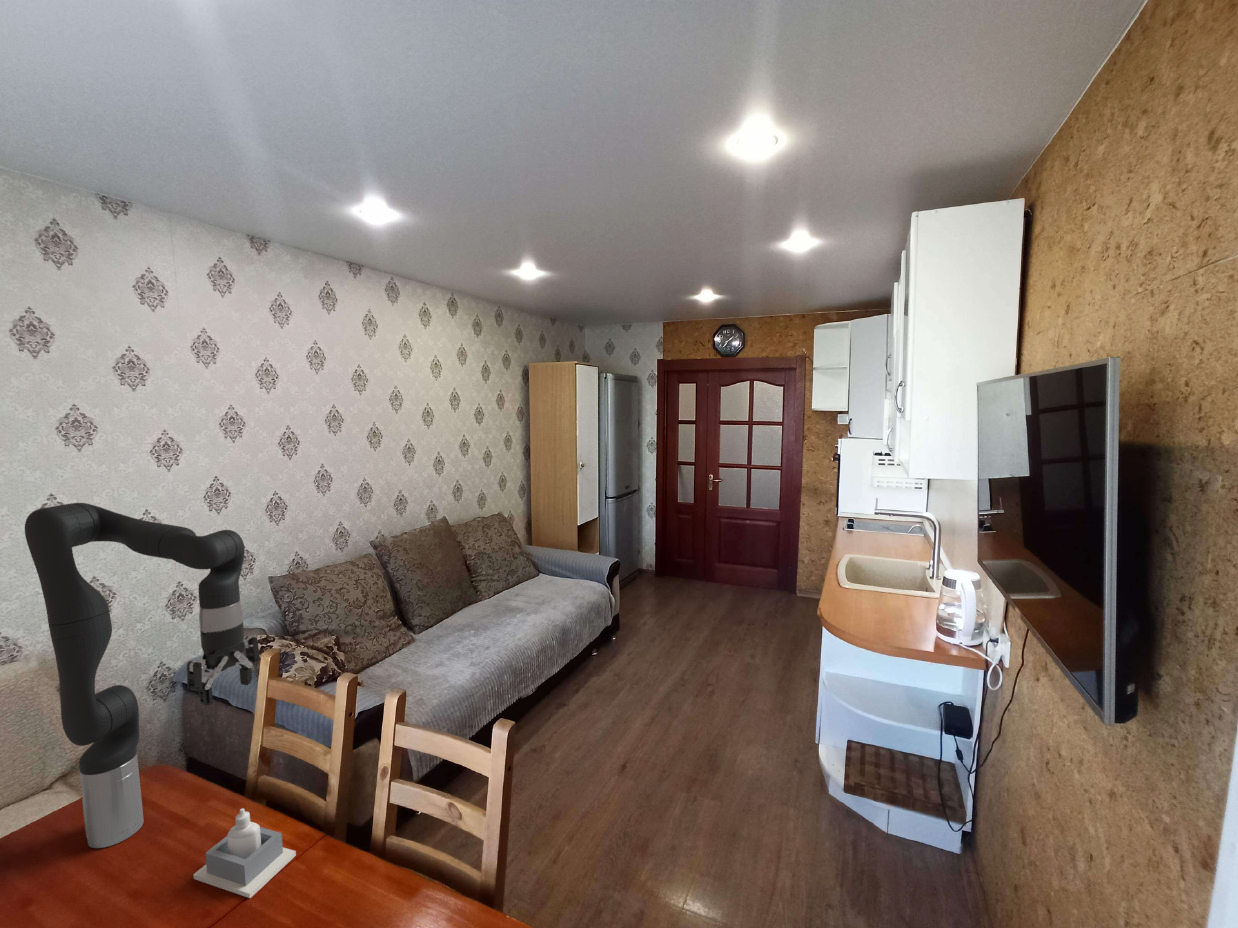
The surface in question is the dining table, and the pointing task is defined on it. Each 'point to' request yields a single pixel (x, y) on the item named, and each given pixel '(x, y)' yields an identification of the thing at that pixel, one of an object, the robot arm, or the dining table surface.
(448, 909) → the dining table surface
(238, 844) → the eye dropper bottle
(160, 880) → the dining table surface
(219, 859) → the socket
